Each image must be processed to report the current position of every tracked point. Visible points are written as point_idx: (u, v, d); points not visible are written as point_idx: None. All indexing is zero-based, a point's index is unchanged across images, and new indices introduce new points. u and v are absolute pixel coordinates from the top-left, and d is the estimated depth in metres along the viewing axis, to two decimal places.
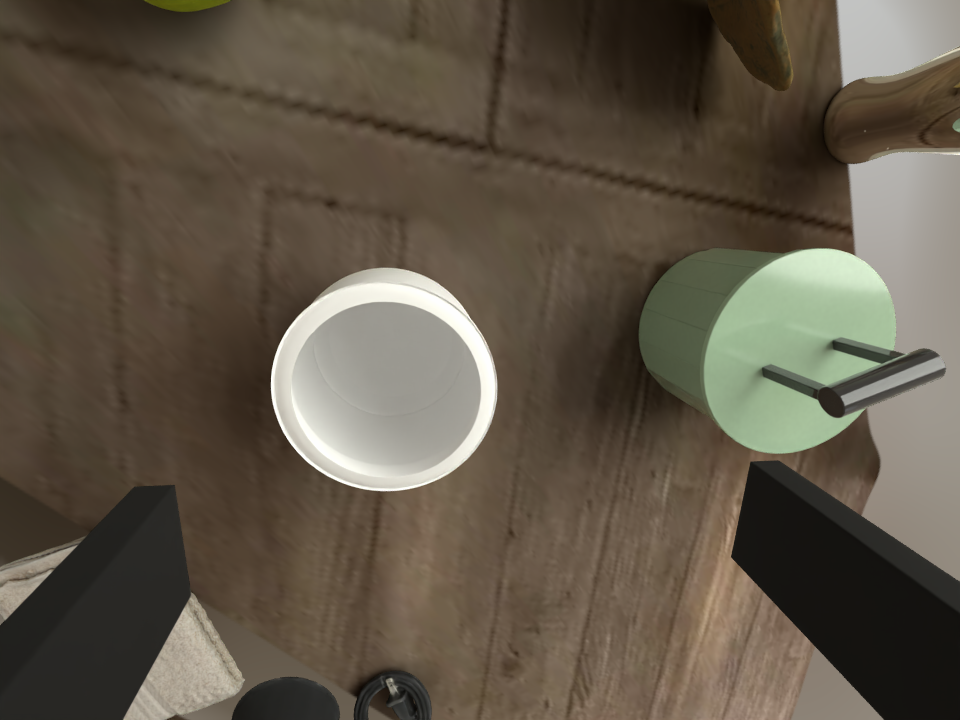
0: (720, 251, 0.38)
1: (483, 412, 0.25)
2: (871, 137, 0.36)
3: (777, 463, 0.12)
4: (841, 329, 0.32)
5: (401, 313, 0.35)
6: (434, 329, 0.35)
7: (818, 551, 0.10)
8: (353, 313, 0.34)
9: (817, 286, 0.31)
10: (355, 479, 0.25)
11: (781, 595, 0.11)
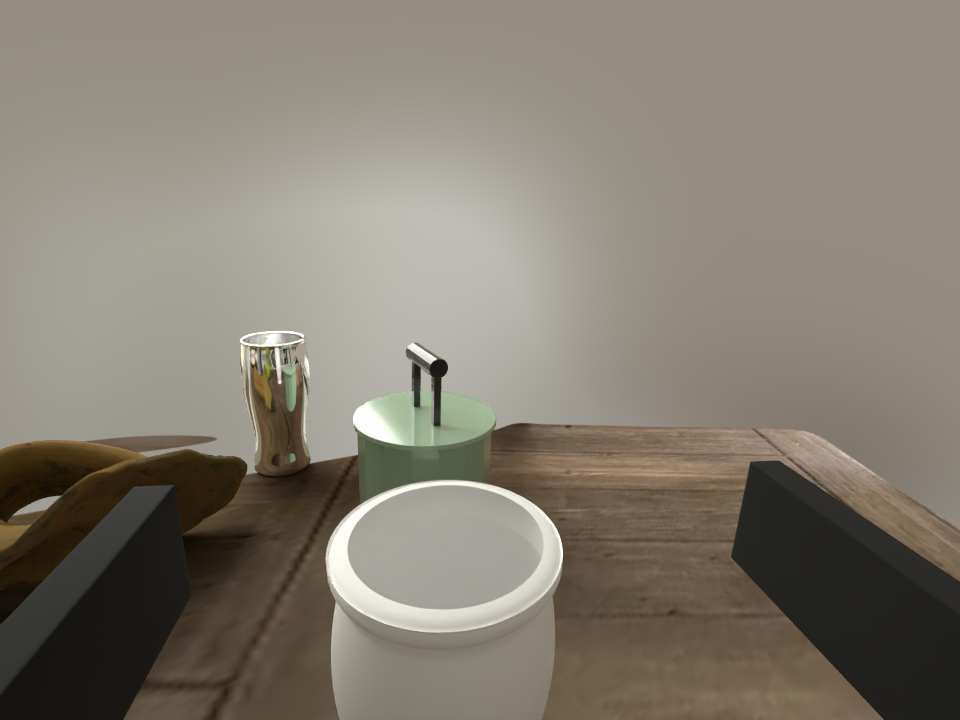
0: (361, 497, 0.49)
1: (461, 483, 0.27)
2: (292, 443, 0.56)
3: (777, 463, 0.12)
4: (407, 405, 0.51)
5: None
6: None
7: (818, 551, 0.10)
8: None
9: (378, 415, 0.48)
10: (552, 556, 0.22)
11: (781, 595, 0.11)
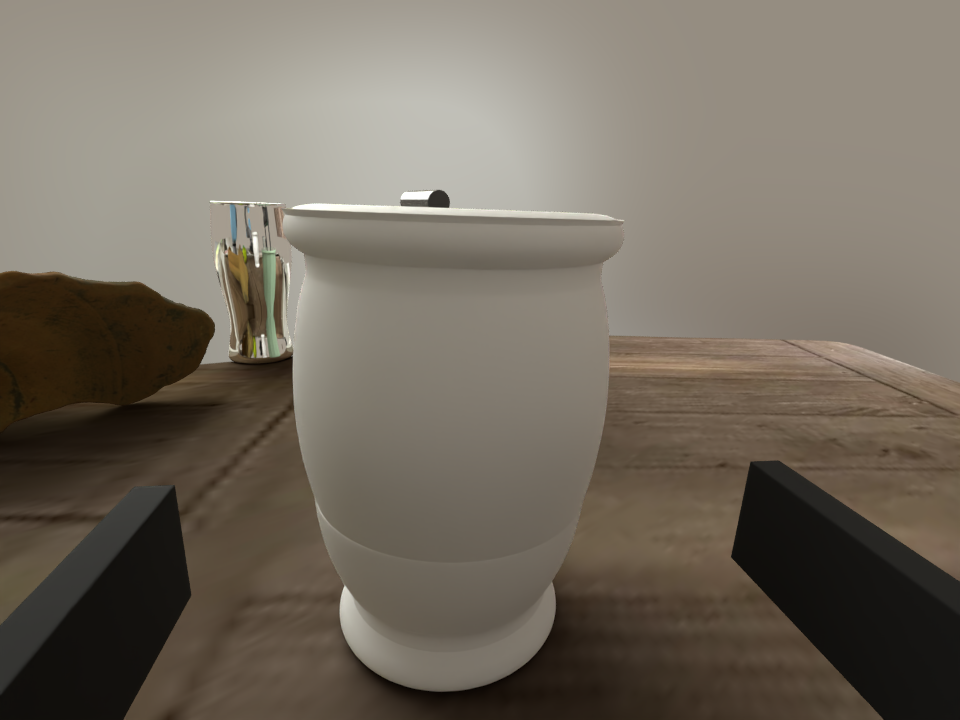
0: None
1: None
2: (271, 327, 0.49)
3: (777, 463, 0.12)
4: None
5: None
6: None
7: (819, 550, 0.10)
8: None
9: None
10: None
11: (781, 595, 0.11)
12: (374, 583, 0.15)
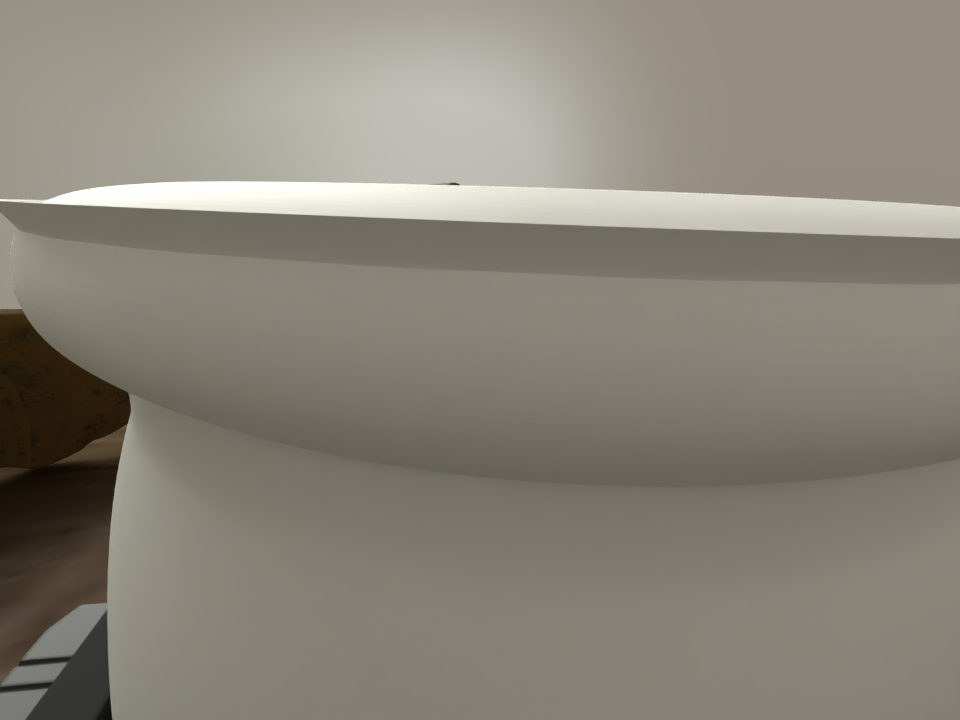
0: None
1: None
2: None
3: None
4: None
5: None
6: None
7: None
8: None
9: None
10: None
11: None
12: None
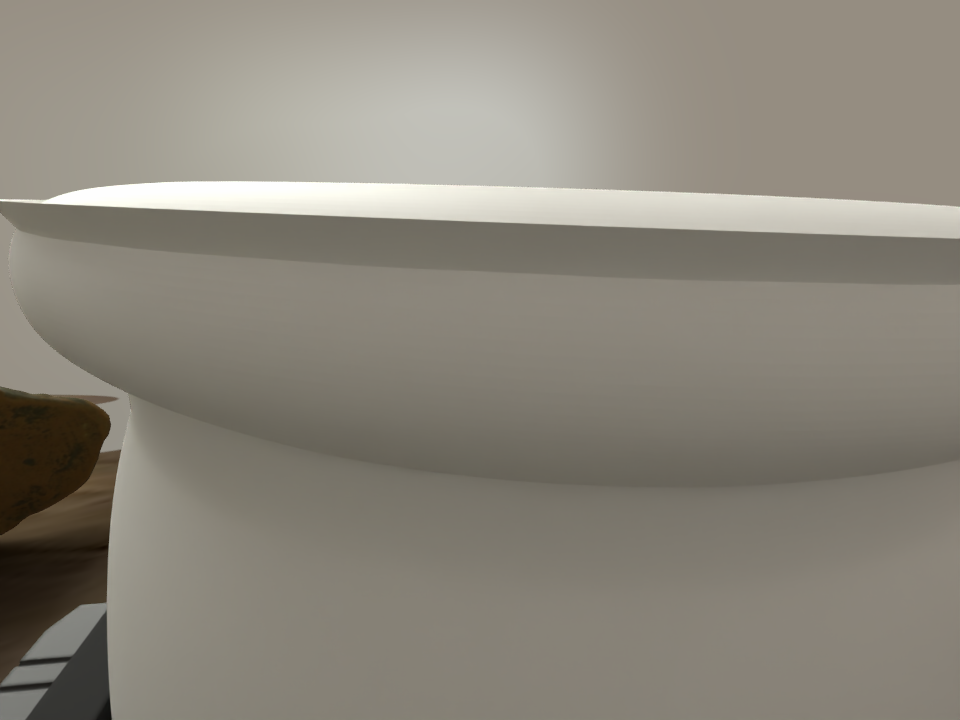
0: None
1: None
2: None
3: None
4: None
5: None
6: None
7: None
8: None
9: None
10: None
11: None
12: None
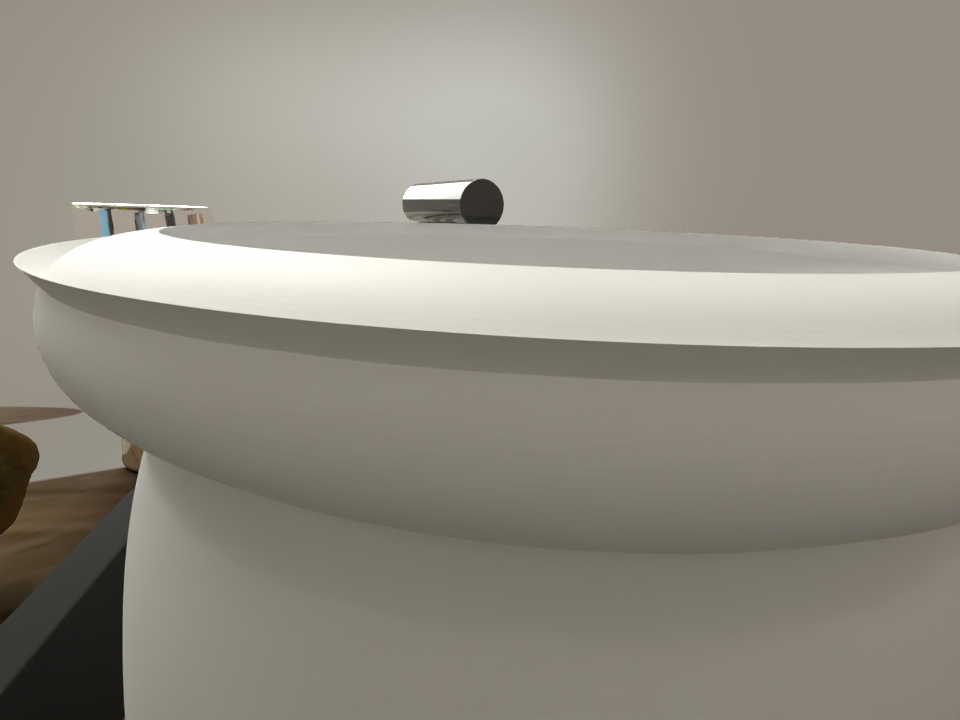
0: None
1: (539, 228, 0.11)
2: None
3: None
4: None
5: None
6: None
7: None
8: None
9: None
10: (957, 258, 0.06)
11: None
12: None
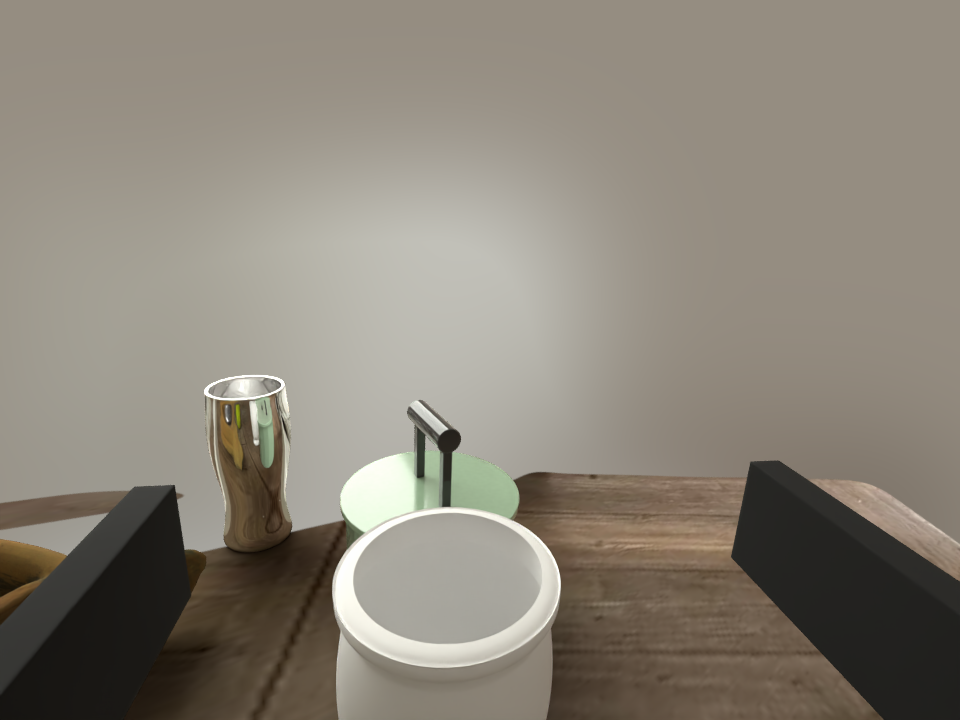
0: None
1: (462, 511, 0.28)
2: (269, 512, 0.47)
3: (777, 463, 0.12)
4: (408, 475, 0.41)
5: None
6: None
7: (818, 550, 0.10)
8: None
9: (371, 491, 0.39)
10: (550, 588, 0.22)
11: (781, 595, 0.11)
12: None
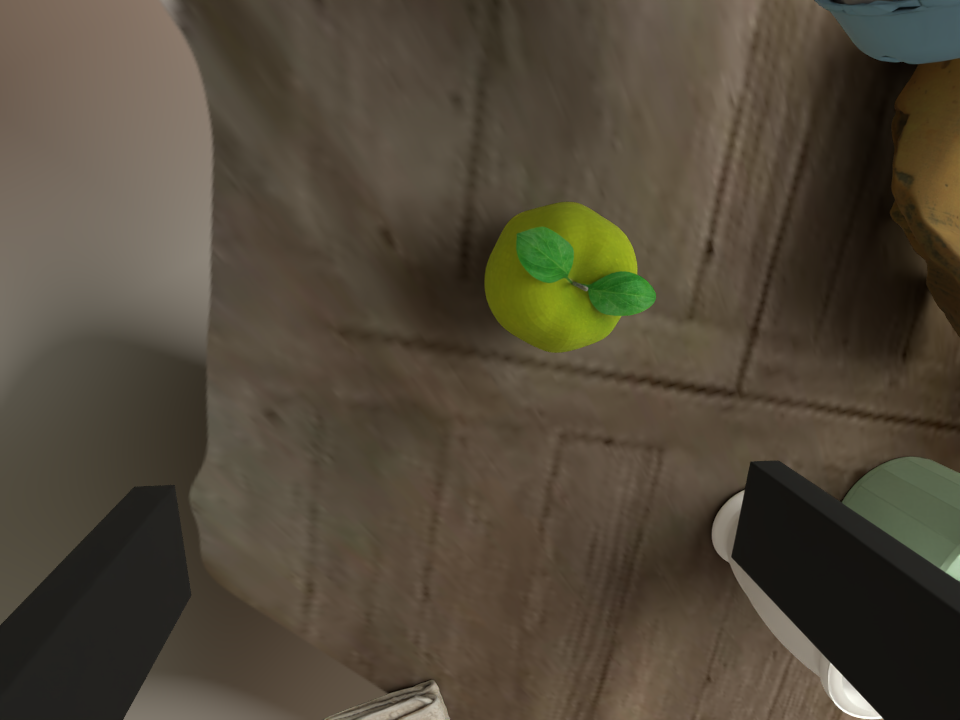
0: (918, 470, 0.45)
1: None
2: None
3: (777, 463, 0.12)
4: None
5: None
6: None
7: (818, 550, 0.10)
8: None
9: None
10: (862, 713, 0.34)
11: (781, 595, 0.11)
12: None
